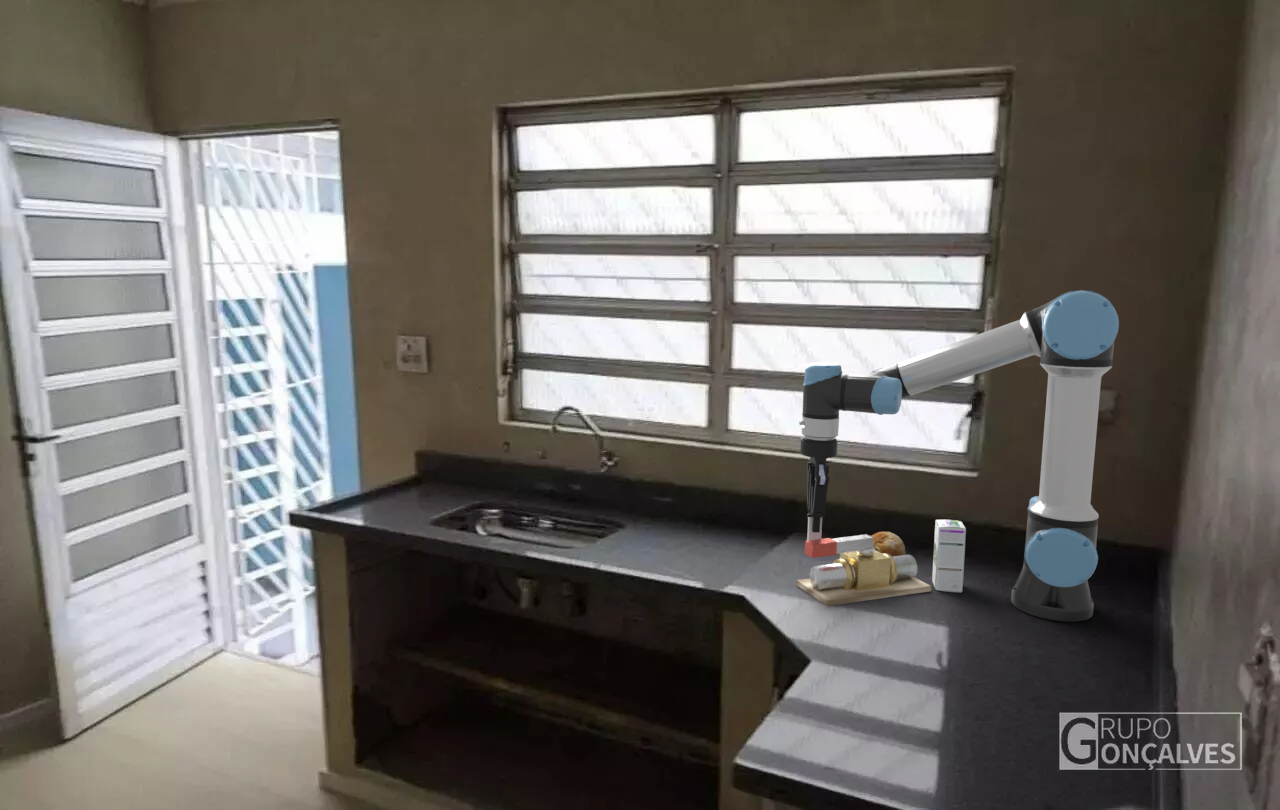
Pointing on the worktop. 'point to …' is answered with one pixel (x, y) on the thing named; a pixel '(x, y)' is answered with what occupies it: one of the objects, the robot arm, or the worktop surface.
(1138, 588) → the worktop surface
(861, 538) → the lever
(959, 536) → the syrup box
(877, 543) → the bread roll
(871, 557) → the valve
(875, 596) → the mounting board
